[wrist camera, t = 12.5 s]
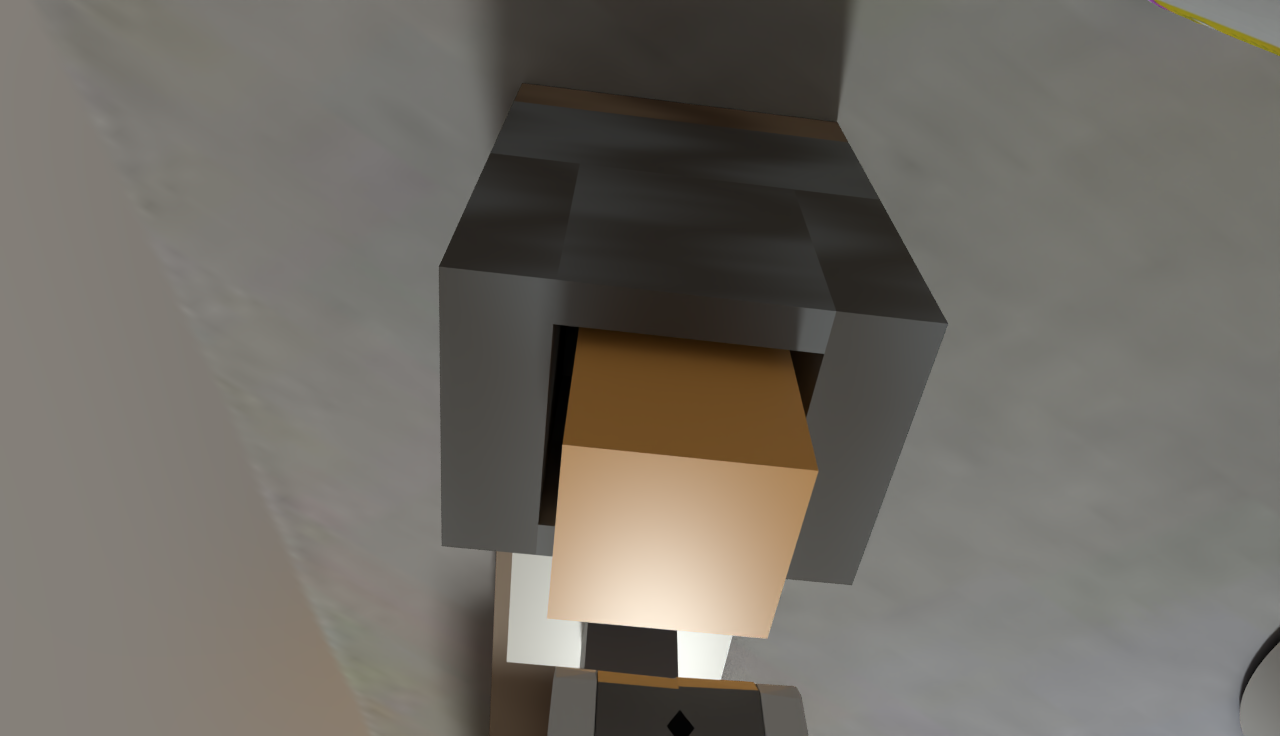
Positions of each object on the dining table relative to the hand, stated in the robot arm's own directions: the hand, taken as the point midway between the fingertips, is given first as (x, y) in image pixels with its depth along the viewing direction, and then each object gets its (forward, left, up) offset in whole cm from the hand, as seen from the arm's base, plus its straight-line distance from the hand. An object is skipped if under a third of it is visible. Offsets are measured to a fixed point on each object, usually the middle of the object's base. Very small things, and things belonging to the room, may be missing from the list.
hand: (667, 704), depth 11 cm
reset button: (0, 0, -8) cm, 8 cm away
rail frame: (0, +15, -15) cm, 21 cm away
